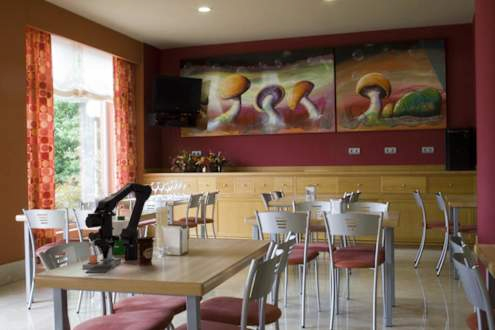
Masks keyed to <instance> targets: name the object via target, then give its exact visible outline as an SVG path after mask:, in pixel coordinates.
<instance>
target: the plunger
mask: <svg viewBox="0 0 495 330" xmlns="http://www.w3.org/2000/svg"><path fill="white" fill-rule="evenodd" d="M97 259H98V255H97V254H90V255H88V261H89V264H97Z"/></svg>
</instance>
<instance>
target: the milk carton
mask: <svg viewBox="0 0 495 330" xmlns="http://www.w3.org/2000/svg"><path fill="white" fill-rule="evenodd" d="M116 216H117V215H116ZM129 220H130V219H126V215H118V216H117V219H114V220H113V219H112V227H114V229H113V235H118V236H119V240H118V241H116V240H114V242H117V243H116V244H115V246H114V249H113V251H112V255H119V256H122V255H125V253H124V250H126V249H125V247H123V244H122V242H121V240H120V238H121V236H120V235H121V233H122V229H123V228H125V229H126V227H127V226H128V224H129Z"/></svg>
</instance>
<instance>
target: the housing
mask: <svg viewBox="0 0 495 330" xmlns="http://www.w3.org/2000/svg"><path fill="white" fill-rule="evenodd" d="M121 262H122V258H121V257H112V261H102V257H101V258H98V257H97V264H89V260H88V261H86V262H84V263H83V264H82V270H90V269H91V268H111V269H114V268H115V267H116V266H118V265H119V264H120V263H121Z"/></svg>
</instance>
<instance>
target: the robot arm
mask: <svg viewBox="0 0 495 330" xmlns="http://www.w3.org/2000/svg"><path fill="white" fill-rule="evenodd" d="M131 193H134V196H135V201H134V206H133V208H132V211H131V214H130V217H129V219H128V220H129V223H128V226H127V227H126V229H125V228H123V229H122V233H121V235H120V236H121V238H120V240H121V242H122V244H123V247H125V249H126V250H124V253H125V254H124V260H125V261H126V260H128V261H133V260H135V261H136V260H139V258H138V246H137V243H136V241H137V240H138V238H139V231H138V227H139V223H140V220H141V217H142V213H143V210H144V207H145V204H146V202H147V201H148V200H149V199H150V197H151V195H152V193H153V189H152V186H151V185H150V184H141V183H137V182H134V181H133V182H127V183H126V184H125V185H124V186H122V187H120V189H119V190H117V191H116V192H114V194H112V195H110V196H109V197H105V198H103V199H100V200H99V202H97V206H96V209H95V210H94V212H93V213H87V216H86V217H85V220H84V223H85V227H87V228H88V229H91V228H92V229H94V228H99V227H100V228H99V229H98V231H96V232H94V231H91V232H89V233H88V235H87V239H88V240H89V241H90V242H92V241H93V246H95V247H98V248H99V249H100V250H101V253H102V254H103V257H104V259H107V256H108V252H109V249H110V246H112V251H113V249H114V246H115V244H116V243H117V242H114V240H116V241H118V240H119V236H118V235H113V229H114V227H112V220H113V217H116V216H117V214H116V213H115V212H114V210H115V209H116V207H117V205H118V204H119V202H121V201H122V200H124V199H125V198H126V197H127V196H128V195H130V194H131ZM102 254H101V255H102Z"/></svg>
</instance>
